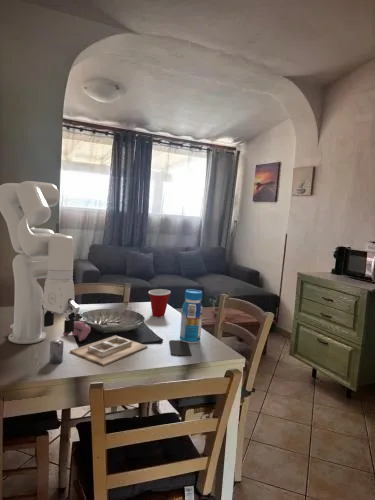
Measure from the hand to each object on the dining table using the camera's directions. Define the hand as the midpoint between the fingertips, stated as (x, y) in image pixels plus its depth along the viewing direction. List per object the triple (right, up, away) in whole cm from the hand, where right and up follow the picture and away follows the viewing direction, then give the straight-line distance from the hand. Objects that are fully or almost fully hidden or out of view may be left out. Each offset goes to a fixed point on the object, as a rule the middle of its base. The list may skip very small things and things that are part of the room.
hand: (58, 329), depth 117 cm
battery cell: (-1, -11, +2) cm, 11 cm away
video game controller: (-2, -9, +25) cm, 26 cm away
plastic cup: (+26, -7, +62) cm, 68 cm away
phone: (+38, -12, +22) cm, 45 cm away
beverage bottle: (+41, -11, +31) cm, 53 cm away
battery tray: (+13, -11, +15) cm, 22 cm away
